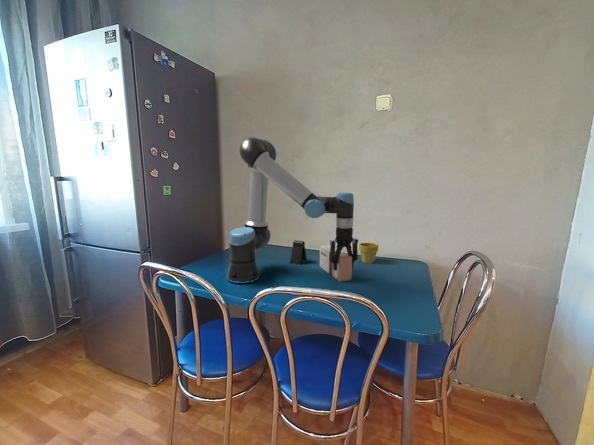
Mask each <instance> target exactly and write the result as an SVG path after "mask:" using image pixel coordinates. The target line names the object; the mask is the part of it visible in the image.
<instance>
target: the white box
mask: <svg viewBox="0 0 594 445" xmlns="http://www.w3.org/2000/svg"><path fill="white" fill-rule="evenodd" d="M330 246H331V245H330V244H329V245H320V246H319V267H320V269H321V268H322V269H323V270H324V271H325V272H327V273H328V274H332V262H330V261H329V258H330ZM336 249H337V247H335V252H336Z"/></svg>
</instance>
